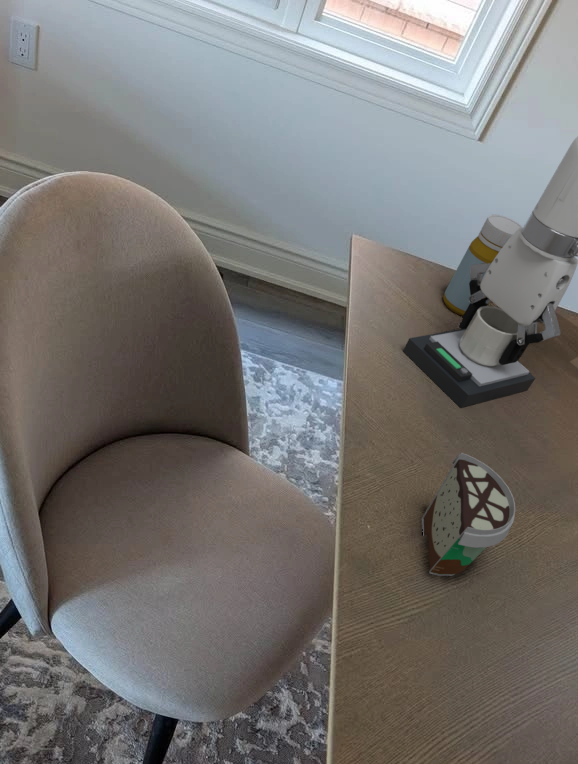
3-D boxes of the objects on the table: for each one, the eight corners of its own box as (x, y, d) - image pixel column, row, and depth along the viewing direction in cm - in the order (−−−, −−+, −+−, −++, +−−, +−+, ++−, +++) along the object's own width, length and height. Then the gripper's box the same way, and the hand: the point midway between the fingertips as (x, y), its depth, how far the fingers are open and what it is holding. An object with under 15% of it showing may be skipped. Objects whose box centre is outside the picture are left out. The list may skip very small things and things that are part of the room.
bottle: (455, 290, 129) (499, 210, 119) (488, 313, 127) (536, 232, 116) (433, 299, 125) (477, 216, 115) (466, 323, 123) (514, 240, 112)
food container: (477, 607, 80) (527, 549, 73) (423, 590, 80) (467, 531, 73) (470, 524, 89) (513, 465, 82) (421, 509, 89) (460, 449, 82)
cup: (479, 336, 114) (499, 303, 110) (510, 364, 111) (532, 331, 107) (448, 342, 111) (468, 308, 107) (480, 371, 107) (501, 337, 103)
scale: (469, 338, 119) (480, 318, 117) (527, 390, 113) (540, 371, 110) (402, 351, 112) (412, 330, 109) (460, 408, 105) (473, 388, 103)
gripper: (620, 270, 95) (544, 378, 107) (522, 200, 104) (463, 306, 116) (585, 276, 91) (511, 387, 103) (487, 202, 100) (429, 312, 112)
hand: (486, 344), depth 110 cm, fingers open, 7 cm apart
